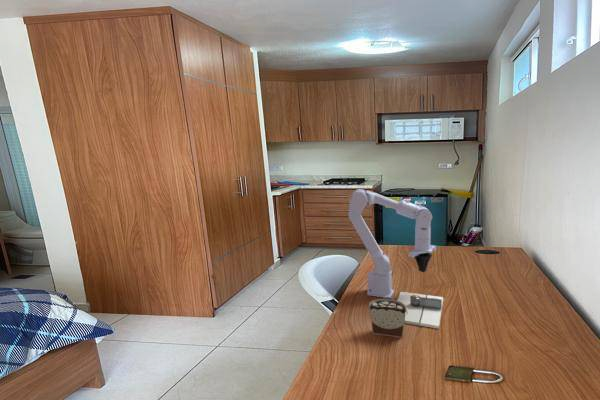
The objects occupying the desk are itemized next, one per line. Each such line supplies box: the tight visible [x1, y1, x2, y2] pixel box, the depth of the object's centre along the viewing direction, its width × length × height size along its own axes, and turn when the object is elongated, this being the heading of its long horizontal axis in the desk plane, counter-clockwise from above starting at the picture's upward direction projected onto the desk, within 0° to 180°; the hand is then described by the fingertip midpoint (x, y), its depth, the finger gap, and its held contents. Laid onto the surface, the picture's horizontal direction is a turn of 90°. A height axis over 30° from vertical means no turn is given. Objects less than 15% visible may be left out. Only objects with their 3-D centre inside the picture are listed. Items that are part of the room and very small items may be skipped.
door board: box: [396, 291, 444, 330], centre depth 132 cm, size 16×24×3 cm, turn 156°
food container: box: [367, 298, 408, 339], centre depth 117 cm, size 12×6×10 cm, turn 71°
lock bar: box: [410, 295, 443, 310], centre depth 132 cm, size 11×4×3 cm, turn 69°
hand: (422, 271), depth 143 cm, fingers closed
